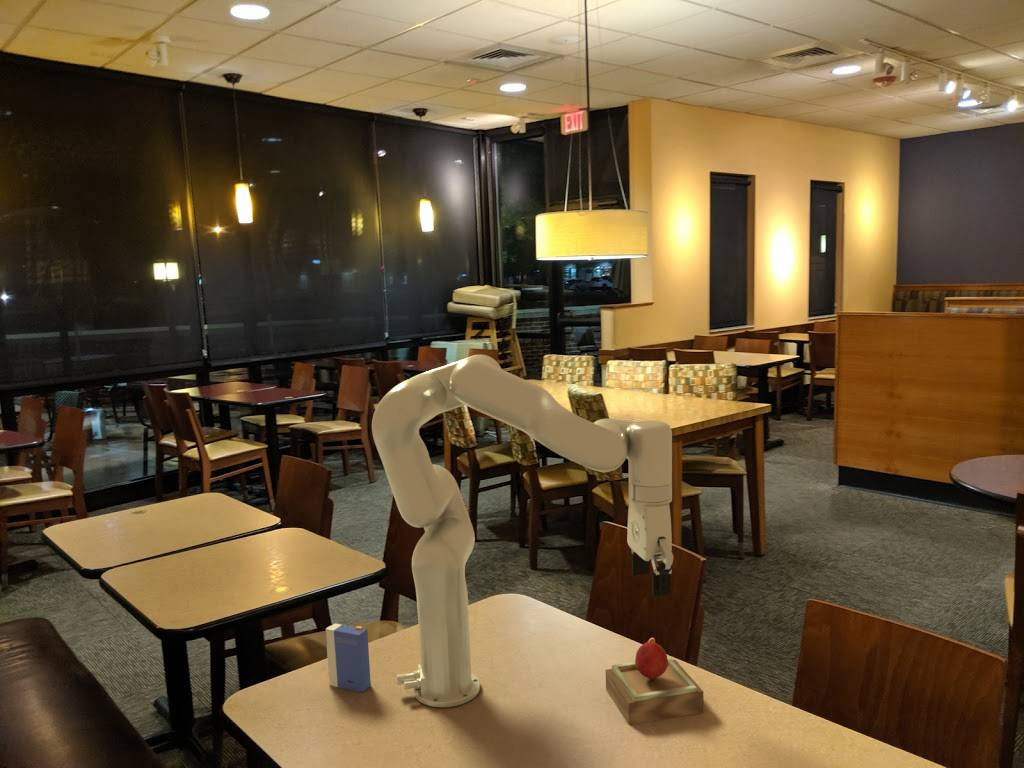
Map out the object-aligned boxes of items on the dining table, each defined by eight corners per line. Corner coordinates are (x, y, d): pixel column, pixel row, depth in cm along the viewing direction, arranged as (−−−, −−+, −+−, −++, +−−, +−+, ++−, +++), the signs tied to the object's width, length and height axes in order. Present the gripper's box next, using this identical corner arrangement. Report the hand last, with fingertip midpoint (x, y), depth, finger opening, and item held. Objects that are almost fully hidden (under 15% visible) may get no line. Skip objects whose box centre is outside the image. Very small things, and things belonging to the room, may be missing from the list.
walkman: (371, 685, 153) (367, 627, 151) (362, 692, 150) (358, 633, 149) (337, 678, 156) (333, 621, 154) (329, 685, 154) (324, 627, 152)
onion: (643, 690, 140) (642, 647, 139) (630, 674, 146) (629, 633, 145) (673, 684, 142) (673, 642, 141) (659, 669, 147) (658, 629, 146)
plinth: (628, 724, 137) (628, 698, 136) (605, 689, 149) (605, 665, 148) (703, 712, 140) (703, 687, 139) (675, 679, 151) (675, 655, 151)
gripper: (613, 481, 146) (614, 569, 149) (648, 507, 130) (649, 606, 132) (651, 477, 148) (651, 564, 150) (691, 503, 131) (690, 601, 134)
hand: (650, 584), depth 141 cm, fingers open, 9 cm apart
